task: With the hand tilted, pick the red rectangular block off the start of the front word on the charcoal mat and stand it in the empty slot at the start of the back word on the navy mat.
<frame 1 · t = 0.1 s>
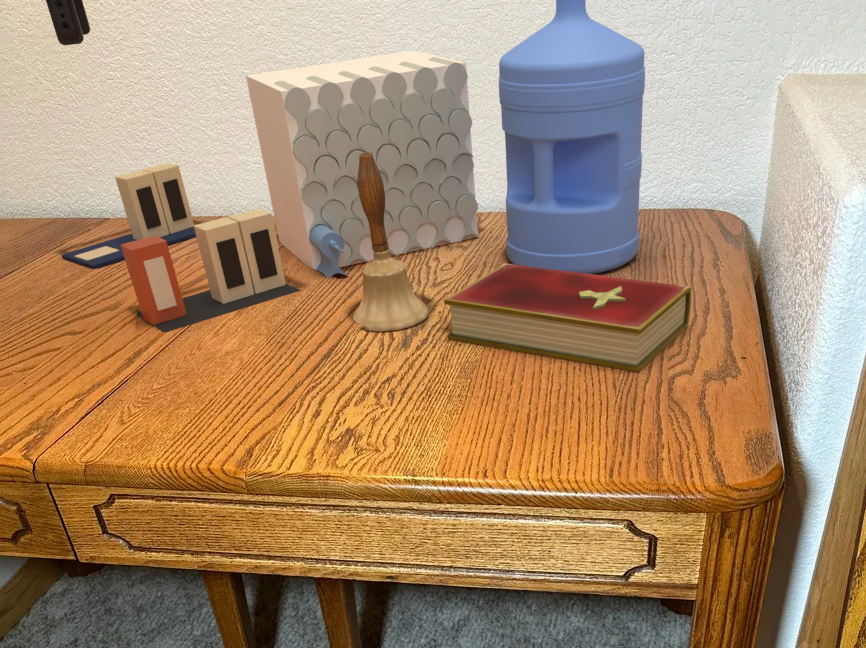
hand: (76, 39, 86), 27 cm above the table, tool pointing down, fingers open, 8 cm apart
front word mat: (218, 305, 105), on the table
water jug: (572, 258, 109), on the table
scalloped white box: (388, 248, 117), on the table
hardcover book: (567, 334, 91), on the table
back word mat: (137, 245, 126), on the table
hand bell: (391, 319, 98), on the table
red rectangular block: (165, 317, 102), resting on front word mat
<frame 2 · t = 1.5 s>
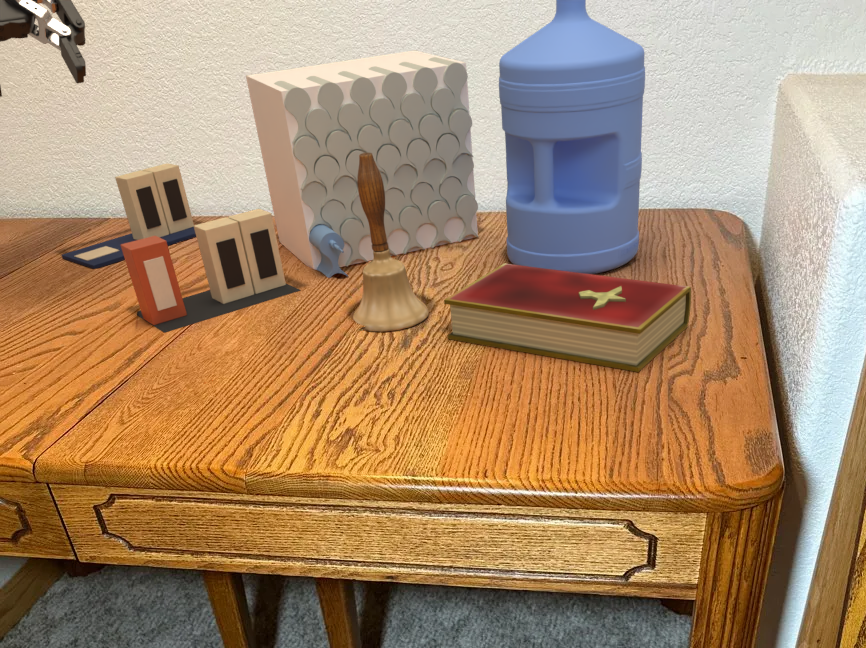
hand: (40, 84, 94), 23 cm above the table, tool tilted 45°, fingers open, 8 cm apart
nothing on the table moved.
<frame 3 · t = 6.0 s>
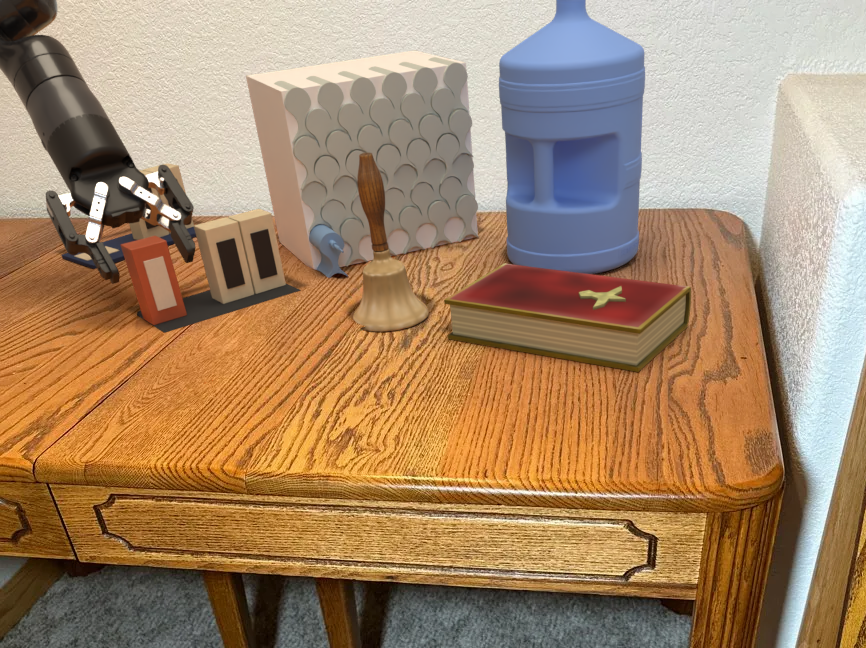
hand: (154, 268, 98), 6 cm above the table, tool tilted 45°, fingers open, 8 cm apart
nothing on the table moved.
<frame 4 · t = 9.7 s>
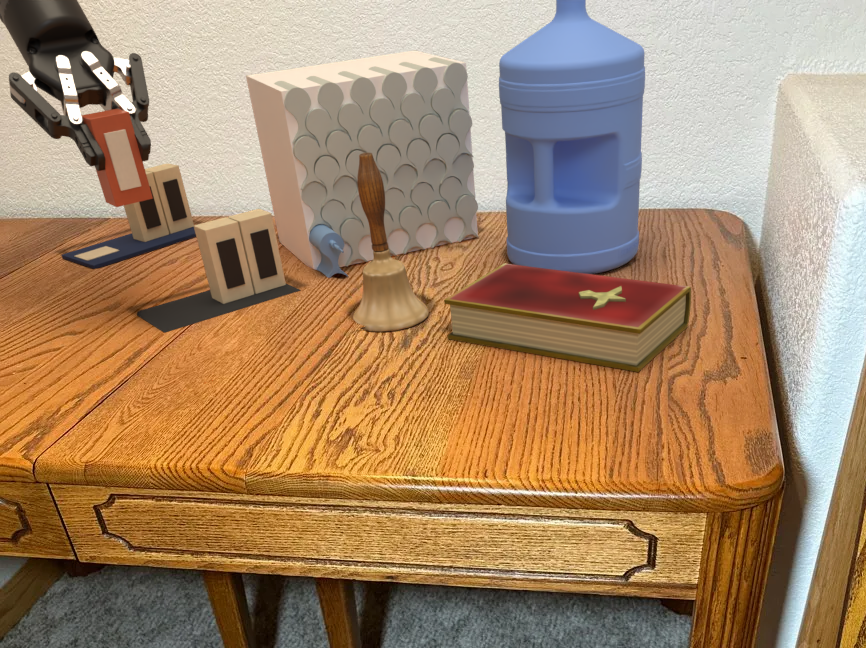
hand: (124, 159, 91), 17 cm above the table, tool tilted 45°, fingers closed on red rectangular block, 4 cm apart
red rectangular block: (129, 200, 95), point 12 cm above the table, touching gripper
everything else where it was.
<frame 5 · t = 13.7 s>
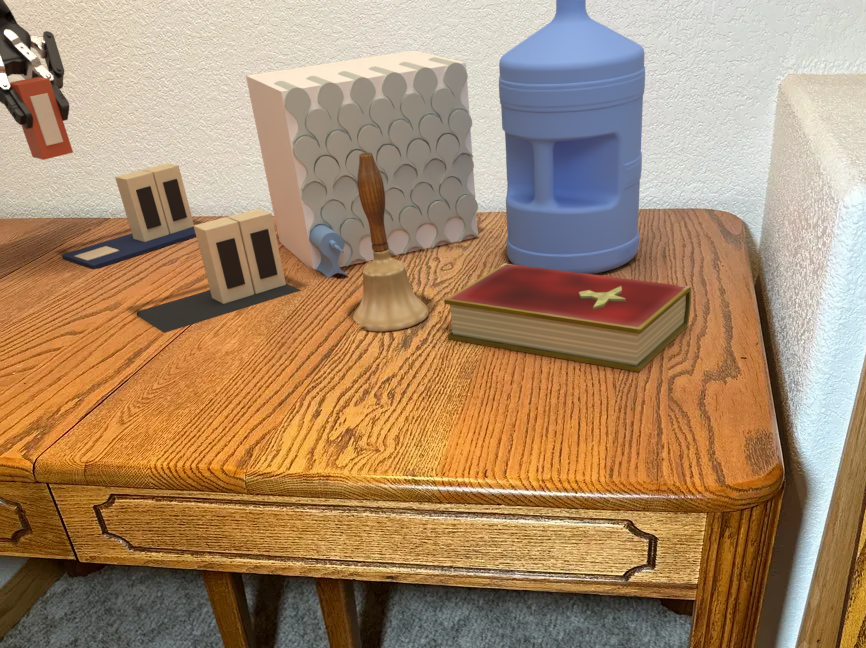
hand: (47, 118, 109), 17 cm above the table, tool tilted 45°, fingers closed on red rectangular block, 4 cm apart
red rectangular block: (53, 154, 113), point 13 cm above the table, touching gripper
everything else where it was.
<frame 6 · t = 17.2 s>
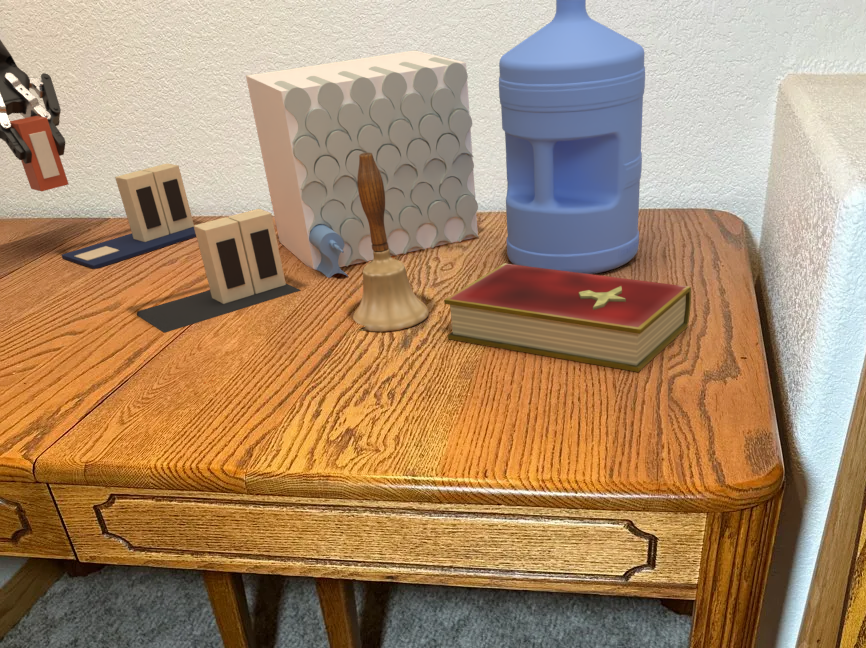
hand: (45, 154, 119), 12 cm above the table, tool tilted 45°, fingers closed on red rectangular block, 4 cm apart
red rectangular block: (50, 186, 122), point 8 cm above the table, touching gripper
everything else where it was.
when the fingers open (5 cm above the table, at t = 20.5 s): red rectangular block stays where it is, resting on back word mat.
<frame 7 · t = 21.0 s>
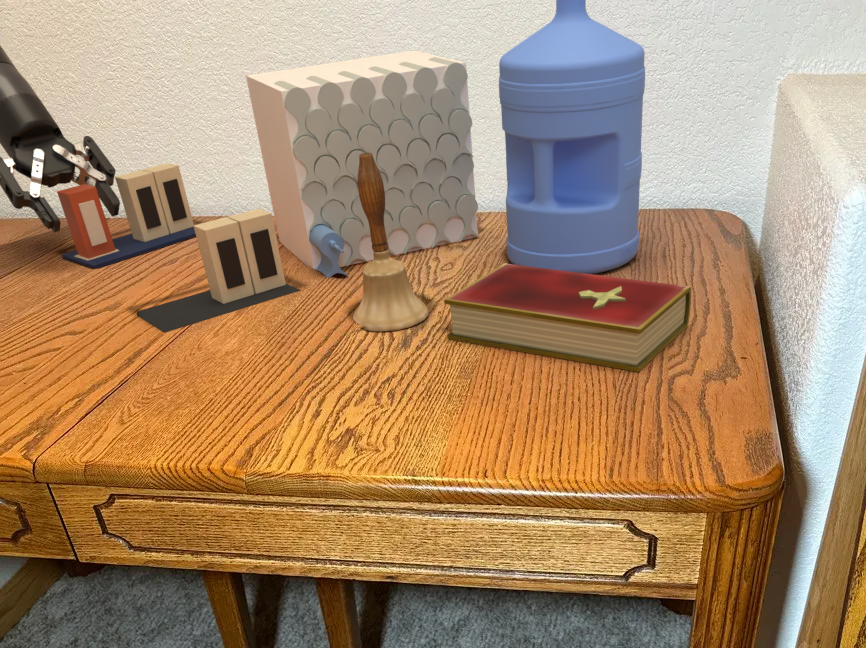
hand: (87, 219, 119), 5 cm above the table, tool tilted 45°, fingers open, 8 cm apart
red rectangular block: (97, 252, 123), point 1 cm above the table, touching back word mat
everything else where it was.
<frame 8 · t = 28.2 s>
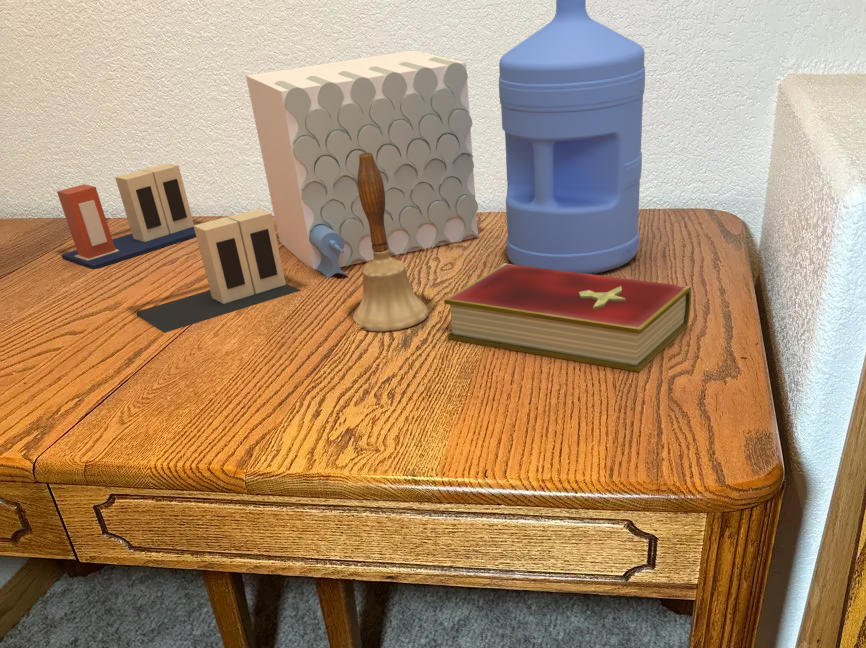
nothing on the table moved.
at the end: red rectangular block 0.0 cm from the target spot on the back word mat, point 0.6 cm above the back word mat's base; red rectangular block tilted 0°; the gripper is holding nothing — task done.
